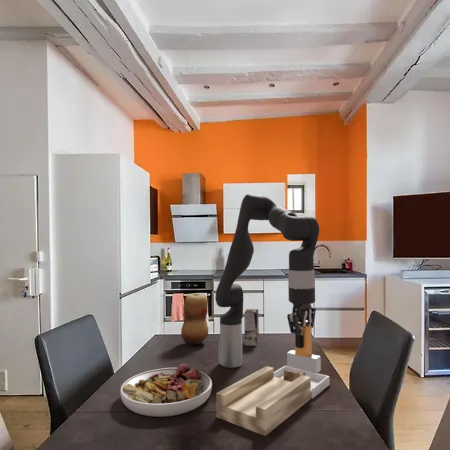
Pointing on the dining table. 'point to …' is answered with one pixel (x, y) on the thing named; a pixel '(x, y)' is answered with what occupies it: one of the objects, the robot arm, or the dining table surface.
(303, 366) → the scraper
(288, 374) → the brown wooden cube
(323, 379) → the tray
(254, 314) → the coffee box
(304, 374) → the brown cube
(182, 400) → the bowl
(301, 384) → the channel board
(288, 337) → the dining table surface
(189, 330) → the butternut squash
